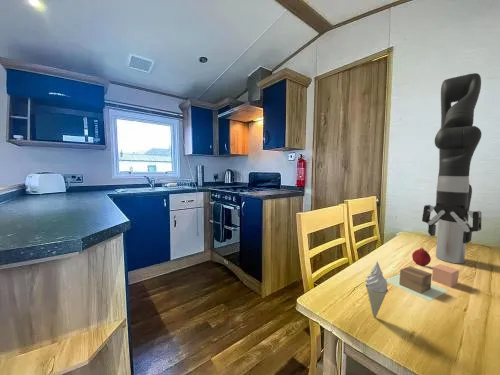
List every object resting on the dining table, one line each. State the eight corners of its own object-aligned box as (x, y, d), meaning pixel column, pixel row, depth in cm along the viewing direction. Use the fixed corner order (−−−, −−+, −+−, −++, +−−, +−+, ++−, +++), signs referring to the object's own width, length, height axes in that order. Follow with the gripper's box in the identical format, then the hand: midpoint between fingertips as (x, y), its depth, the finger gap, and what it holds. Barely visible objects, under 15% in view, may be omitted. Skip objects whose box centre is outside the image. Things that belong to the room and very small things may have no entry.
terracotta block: (438, 280, 76) (439, 264, 76) (457, 287, 72) (458, 269, 71) (431, 283, 74) (432, 266, 73) (450, 291, 69) (452, 273, 69)
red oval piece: (433, 270, 83) (435, 250, 83) (416, 269, 85) (417, 249, 84) (424, 264, 89) (426, 245, 88) (408, 262, 90) (410, 244, 90)
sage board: (402, 275, 79) (402, 272, 79) (448, 294, 68) (448, 290, 67) (383, 283, 73) (383, 280, 73) (429, 305, 62) (429, 301, 62)
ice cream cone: (359, 311, 59) (362, 257, 58) (377, 310, 59) (380, 257, 58) (371, 324, 54) (375, 265, 53) (390, 323, 54) (394, 265, 53)
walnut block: (409, 280, 73) (410, 266, 73) (430, 289, 68) (431, 273, 68) (399, 284, 71) (400, 269, 70) (420, 293, 65) (422, 277, 65)
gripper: (488, 191, 66) (482, 244, 67) (431, 188, 78) (427, 232, 80) (478, 192, 62) (473, 248, 63) (420, 188, 75) (417, 234, 76)
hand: (447, 239), depth 72 cm, fingers open, 8 cm apart
